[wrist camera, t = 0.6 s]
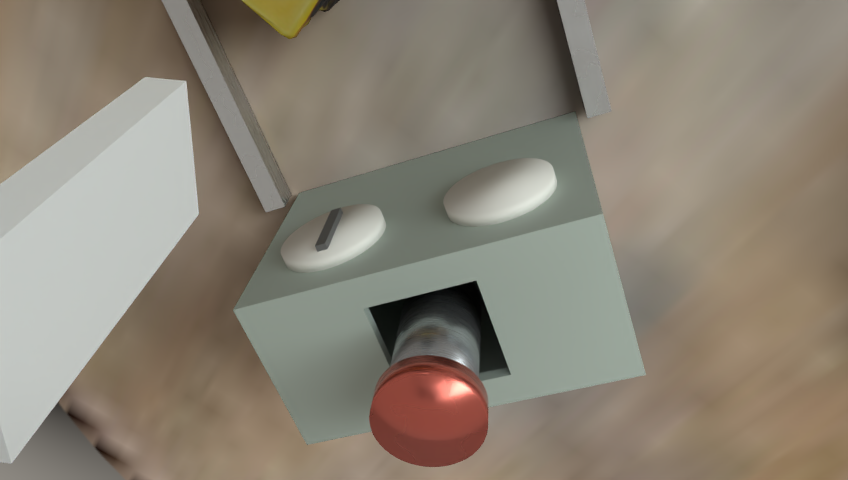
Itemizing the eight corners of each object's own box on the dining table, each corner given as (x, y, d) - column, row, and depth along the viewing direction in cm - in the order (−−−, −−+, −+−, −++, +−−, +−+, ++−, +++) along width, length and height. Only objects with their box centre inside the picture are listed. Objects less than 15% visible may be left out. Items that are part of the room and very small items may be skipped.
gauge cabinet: (293, 179, 42) (223, 293, 31) (570, 95, 38) (597, 193, 28) (351, 305, 46) (307, 444, 35) (609, 240, 42) (645, 374, 32)
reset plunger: (382, 276, 34) (351, 390, 27) (473, 252, 33) (466, 364, 26) (414, 350, 36) (393, 475, 29) (502, 330, 35) (502, 454, 28)
